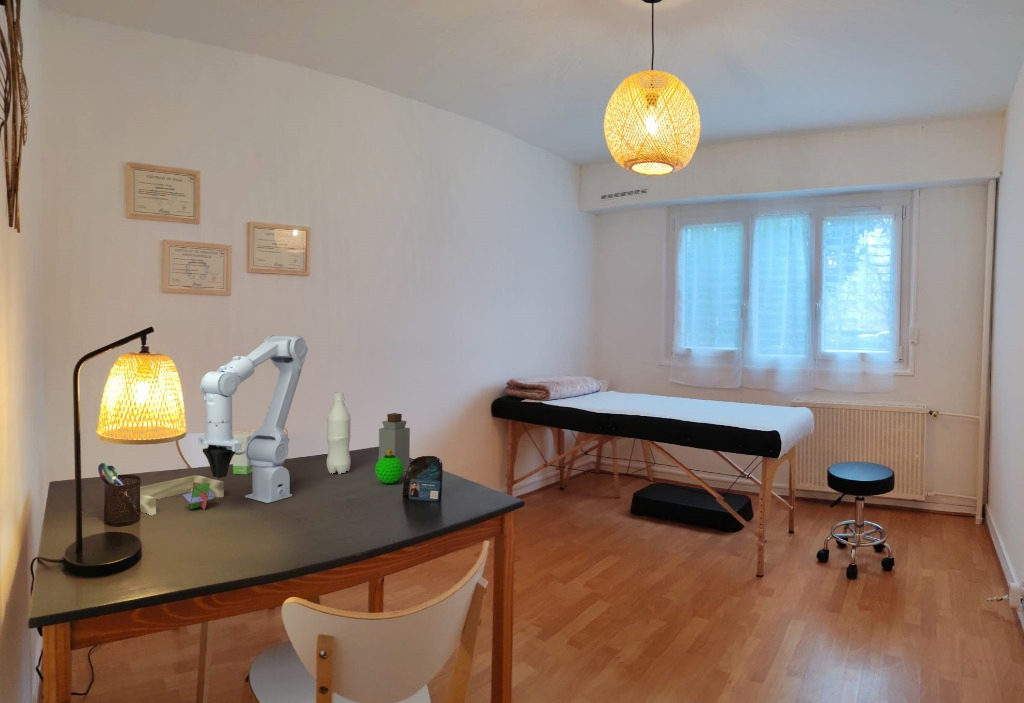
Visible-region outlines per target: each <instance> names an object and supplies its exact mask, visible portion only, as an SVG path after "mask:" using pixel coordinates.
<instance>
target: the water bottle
mask: <svg viewBox="0 0 1024 703" xmlns="http://www.w3.org/2000/svg"><path fill="white" fill-rule="evenodd" d="M332 401H333V402H332V406H331V408H330V410H329V412H328V413H327V416H326V434H327V435H326V440H327V447H328V448H327V449H328V450H327V456H326V457H327V458H326V467H327V470H328V472H329V473H330V474H331V473H332V474H331V475H334V474H333V473H338V475H342V474H341V473H344V474H345V473H347V472H346V471H348V472H349V471H350V468H351V454H350V441H351V420H352V419H351V414H350V412H349V410H348V408H347V407H346V404H345V393H344V392H343V391H334V392H333V399H332Z"/></svg>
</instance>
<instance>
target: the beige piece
mask: <svg viewBox="0 0 1024 703" xmlns="http://www.w3.org/2000/svg"><path fill="white" fill-rule="evenodd" d="M194 482H195V483H198V482H200V484H202V485H203V484H207V483H210V487H209V489H208V490H209V491H210V492H211V493H212V494H213V495H216V497H217V498H219V497H220V498H224V497H225V492H224V490H225V488H224V487H225V484H224V483H225V482H224V481H222V480H218V479H214V478H211V477H206V476H202V475H198V474H193V475H188V476H184V477H180V478H179V477H178V478H176V479H175V478H174V479H170V480H166V481H161V482H156V483H152V484H147V485H142V486H139V487H140V508H141V512H140V513H142V512H143V514H145V513H147V514H146V515H148V514H149V516H154V514H155V515H157V500H156V499H158V500H161V498H162V499H166V498H169V497H173V496H178V495H182V493H183V494H186V493H185V492H187V493H191V488H192V486H193V483H194ZM211 486H212V487H211ZM165 497H166V498H165Z"/></svg>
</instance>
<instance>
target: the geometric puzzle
mask: <svg viewBox="0 0 1024 703" xmlns="http://www.w3.org/2000/svg"><path fill="white" fill-rule="evenodd" d="M209 487H210V483H207V484H203V485H202V484H200V482H198V483H195V482H194V483H193V486H192V488H191V492H187V493H186V492H185V493H183V494H181V496H182V497H183V500H184V502H185V501H187V502H188V503H189V505H188V508H187V509H188V511H190V510H193V509H197V508H199V509H200V508H201V509H202V510H203V511H204V510H205V511H206V510H207V504H208V500H211V501H209V503H210V502H211V503H212V501H215V500H216V498H218V497H216V495H213V494H212V493H211V492H210V491H209V490H208V489H209ZM211 487H212V486H211ZM187 502H185V504H186V503H187Z"/></svg>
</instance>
